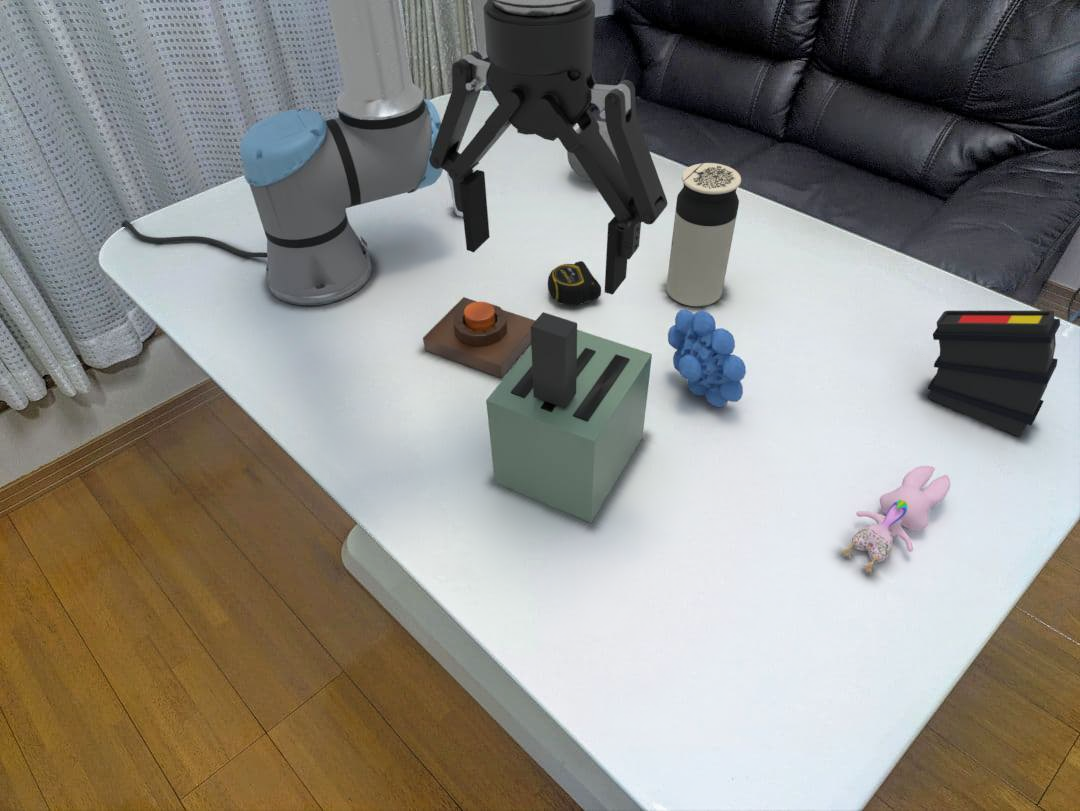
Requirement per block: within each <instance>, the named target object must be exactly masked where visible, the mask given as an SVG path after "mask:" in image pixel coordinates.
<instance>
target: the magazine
mask: <svg viewBox="0 0 1080 811" xmlns="http://www.w3.org/2000/svg"><path fill="white" fill-rule="evenodd" d="M1060 326H1061V319H1060V318H1055V311H1054V310H945V311H943V312H942V314H940V317H939V318H938V319H937V321H936V329H935V330H934V331H933V333H932V339H933V341H938V344H939V356H938V357H937V358H936V360H935V362H934V364H933V368H937V371H936V373H935V375H934V376H933V378H932V379H931V381H930V382H929V384H928V385H927V387H926V390H927V391H929V392H928V393H927V398H928V399H929V400H932V401H934V402H936V403H938V404H941V405H943V406H946V407H948V408H951V409H952V410H955V411H957V412H959V413H962V414H964V415H967V416H969V417H971V418H973V419H976V420H978V421H980V422H983V423H985V424H987V425H990V426H992V427H994V428H997V429H999V430H1001V431H1003V432H1005V433H1009V434H1011V435H1013V436H1016V437H1022V436H1023V434H1024V432H1025V430H1026V428H1028V426H1030V427H1031V426H1032V425H1033V423H1034V422H1035V420H1036V418H1037V416H1038V414H1039V412H1040V410H1041V408H1042V406H1043V404H1044V401H1045V400H1042V398H1043V396H1044V394H1045V392H1046V389H1047V387H1048V384H1049V382H1050V380H1051V378H1052V376H1053V374H1054V372H1055V370H1056V368H1057V365H1058V358H1054V357H1055V350H1056V345H1057V342H1056V334H1057V332H1058V330H1059V328H1060Z"/></svg>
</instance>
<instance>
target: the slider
mask: <svg viewBox="0 0 1080 811" xmlns="http://www.w3.org/2000/svg"><path fill="white" fill-rule="evenodd" d="M577 330H578V322H575V321H572V320H569V319H567V318H563V317H560V316H557V315H554V314H550V313H547V312H545V311H543V312H541V313H540V314H539V316H538V317H537V318H536V320H535V322H534V323H533V324H532V325H531V344H530V347H531V349H532V373H533V397H535V398H538V399H540V400H543V401H546V402H549V403H551V404H554V405H557V406H559V407H562V408H566V407H567V406H568V404H569V403H570V402H571V400H572V399H573V397H574V396H575V395H576V377H577Z"/></svg>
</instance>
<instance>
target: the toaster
mask: <svg viewBox="0 0 1080 811" xmlns="http://www.w3.org/2000/svg"><path fill="white" fill-rule="evenodd" d="M527 349H528V350H526V351H525V353H524V354H523V355H522V357H521V358H520V359H519V360H518V361H517V363H516V364H515V365H514V366H513V368H511V369H510V371H508V373H507V374H506V376H505V377H504V378H503V379H502V381H500V383H499V384H497V386H496V388H495V389H494V390H493V391H492V392H491V394H490V395H489V396H488V397H487V398H486V400H485V402H486V403H485V405H486V413H487V414H486V415H487V422H488V432H489V442H490V450H491V459H492V469H493V470H492V471H493V479H494V483H496V484H498V485H501V486H503V487H505V488H508V489H510V490H512V491H515V492H516V493H520V494H521V495H524V496H527V497H528V498H531V499H533V500H536V501H537V502H541V503H543V504H545V505H547V506H550V507H553V508H555V509H557V510H559V511H561V512H564V513H567V514H569V515H571V516H573V517H576V518H578V519H580V520H583V521H586V522H588V523H592V522H593V521H594V519H595V517H596V516H597V514H598V513H599V511H600V509H601V507H602V506H603V504H604V502H605V500H606V499H607V498H608V496H609V494H610V492H611V490H612V489H613V487H614V485H615V484H616V482H617V481H618V479H619V478H620V475H621V474H622V472H623V471H624V469H625V467H626V465H627V464H628V463H629V461H630V459H631V457H632V456H633V454H634V452H635V451H636V449H637V447H638V446H639V444H640V442H641V440H642V439H643V438H644V428H645V421H646V411H647V403H648V402H647V401H648V394H649V385H650V376H651V368H652V360H653V358H652V357H653V353H651V352H648V351H644V350H641V349H638V348H635V347H632V346H630V345H626V344H623V343H619V342H617V341H613V340H610V339H608V338H604V337H601V336H598V335H595V334H592V333H589V332H586V331H583V330H580V329H577V377H576V395H575V396H574V397H573V399H572V400H571V402H570V403H569V404H568V406H567V407H566V408H562V407H559V406H557V405H554V404H551V403H549V402H546V401H543V400H540V399H538V398H535V397H533V373H532V349H531V346H530V347H529V348H527Z"/></svg>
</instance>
